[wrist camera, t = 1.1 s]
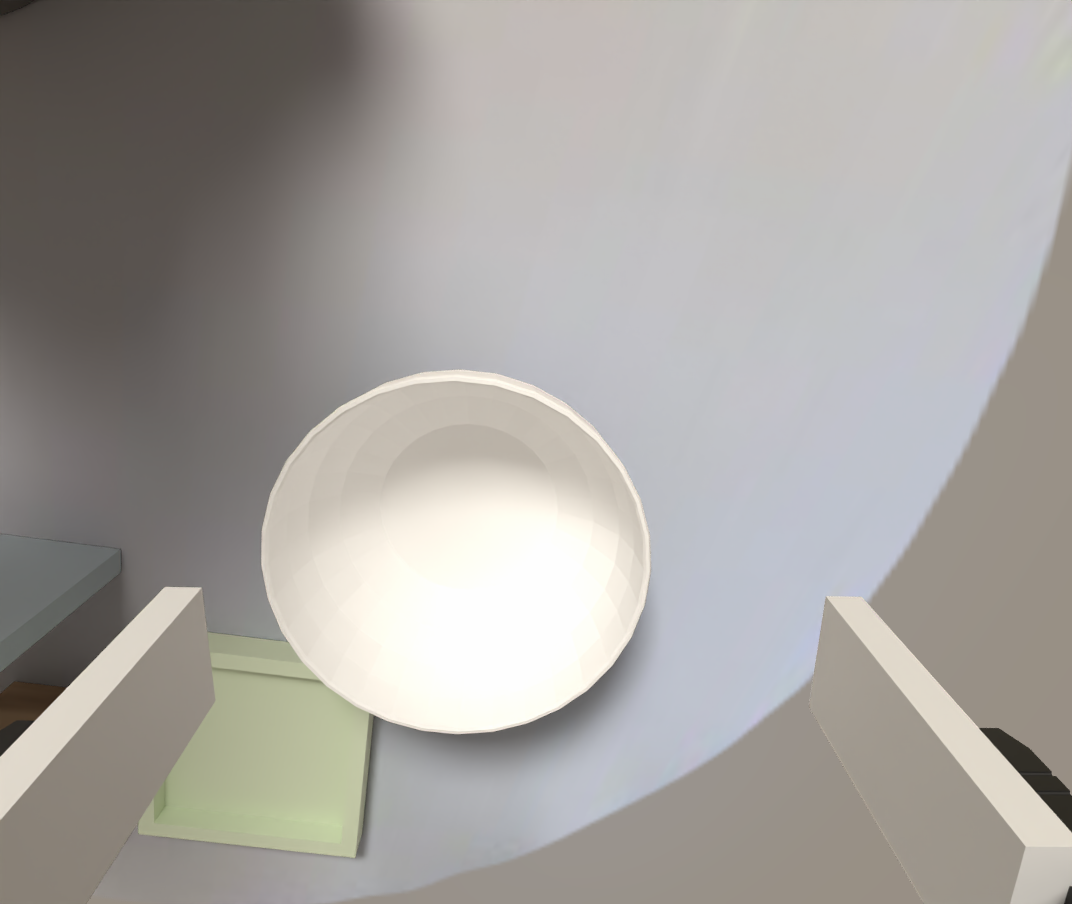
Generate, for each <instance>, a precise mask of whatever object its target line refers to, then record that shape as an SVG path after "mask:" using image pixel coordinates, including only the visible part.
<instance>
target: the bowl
mask: <svg viewBox="0 0 1072 904" xmlns="http://www.w3.org/2000/svg"><path fill="white" fill-rule="evenodd" d="M261 566H262V571H263V576H264V581H265V586H266V592H267V597H268V600H269V603H270V605H271V608H272V610H273V612H274V615H275V617H276V619H277V622H278V624H279V627H280V629H281V631H282V633H283V635H284V636H285V637H286V639H287V640H288V642H289V643H290V645H291V646H292V648H293V649H294V651H295V652H296V654H297V655H298V657H299V658H300V660H301V661H302V662H303V663H304V664H305V665H306V666H307V667H308V668H309V669H310V670H311V671H312V672H313V673H314V674H315V675H316V676H317V677H318V678H319V679H320V680H321V681H322V682H323V683H324V684H325V685H326V686H327V687H328V688H330V689H331V690H333V691H334V692H336V693H337V694H338V695H340V696H341V697H343V698H344V699H346V700H347V701H349V702H350V703H351V704H353V705H354V706H356V707H358V708H360V709H362V710H364V711H367V712H369V713H371V714H373V715H375V716H377V717H379V718H382V719H384V720H386V721H388V722H392V723H396V724H399V725H403V726H407V727H410V728H414V729H418V730H421V731H430V732H440V733H450V734H468V733H482V732H494V731H498V730H502V729H506V728H510V727H515V726H519V725H523V724H527V723H529V722H532V721H534V720H536V719H538V718H541V717H543V716H545V715H548V714H550V713H552V712H554V711H557V710H559V709H560V708H562V707H563V706H565V705H566V704H568V703H569V702H571V701H572V700H574V699H575V698H577V697H578V696H580V695H581V694H583V693H584V692H586V691H587V690H588V689H589V688H590V687H591V686H592V685H593V684H594V683H595V682H596V681H597V680H598V679H599V678H600V677H601V676H602V675H603V674H604V673H605V672H606V671H607V670H608V669H609V668H610V667H611V666H612V665H613V664H614V662H615V661H616V659H617V658H618V656H619V655H620V653H621V652H622V651H623V649H624V648H625V646H626V645H627V643H628V642H629V640H630V639H631V637H632V635H633V633H634V630H635V628H636V625H637V623H638V621H639V618H640V616H641V613H642V611H643V608H644V606H645V602H646V596H647V591H648V585H649V580H650V574H651V551H650V533H649V529H648V525H647V522H646V518H645V514H644V510H643V506H642V502H641V499H640V497H639V495H638V493H637V491H636V489H635V487H634V485H633V483H632V481H631V479H630V477H629V475H628V473H627V471H626V469H625V467H624V465H623V464H622V463H621V461H620V460H619V459H618V457H617V456H616V454H615V453H614V452H613V451H612V449H611V448H610V447H609V446H608V444H607V443H606V442H605V440H604V439H603V438H602V437H601V435H600V434H599V433H598V432H597V430H596V429H595V428H594V427H593V426H592V425H591V424H590V423H589V422H587V421H586V420H585V419H584V418H583V417H582V416H580V415H579V414H578V413H577V412H576V411H574V410H573V409H572V408H571V407H570V406H569V405H567V404H566V403H564V402H563V401H561V400H559V399H557V398H555V397H554V396H552V395H550V394H548V393H546V392H545V391H543V390H541V389H539V388H537V387H535V386H534V385H531V384H528V383H524V382H521V381H518V380H515V379H512V378H509V377H506V376H503V375H500V374H494V373H486V372H478V371H469V370H461V369H459V370H446V371H433V372H422V373H418V374H414V375H411V376H407V377H404V378H400V379H397V380H393V381H389V382H386V383H384V384H382V385H380V386H378V387H376V388H374V389H372V390H371V391H369V392H367V393H365V394H363V395H361V396H359V397H357V398H355V399H353V400H351V401H349V402H348V403H346V404H344V405H342V406H340V407H339V408H338V409H337V410H335V411H334V412H333V413H332V414H330V415H329V416H328V417H327V418H325V419H324V420H323V421H322V422H321V423H319V424H318V425H317V426H316V427H314V428H313V429H312V430H311V431H310V432H309V433H308V434H307V435H306V437H305V438H304V439H303V440H302V442H301V443H300V444H299V445H298V447H297V448H296V449H295V450H294V452H293V453H292V454H291V455H290V457H289V458H288V459H287V460H286V462H285V464H284V466H283V468H282V470H281V473H280V475H279V477H278V479H277V481H276V483H275V485H274V487H273V489H272V491H271V493H270V496H269V501H268V505H267V509H266V513H265V517H264V521H263V525H262V541H261Z"/></svg>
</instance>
